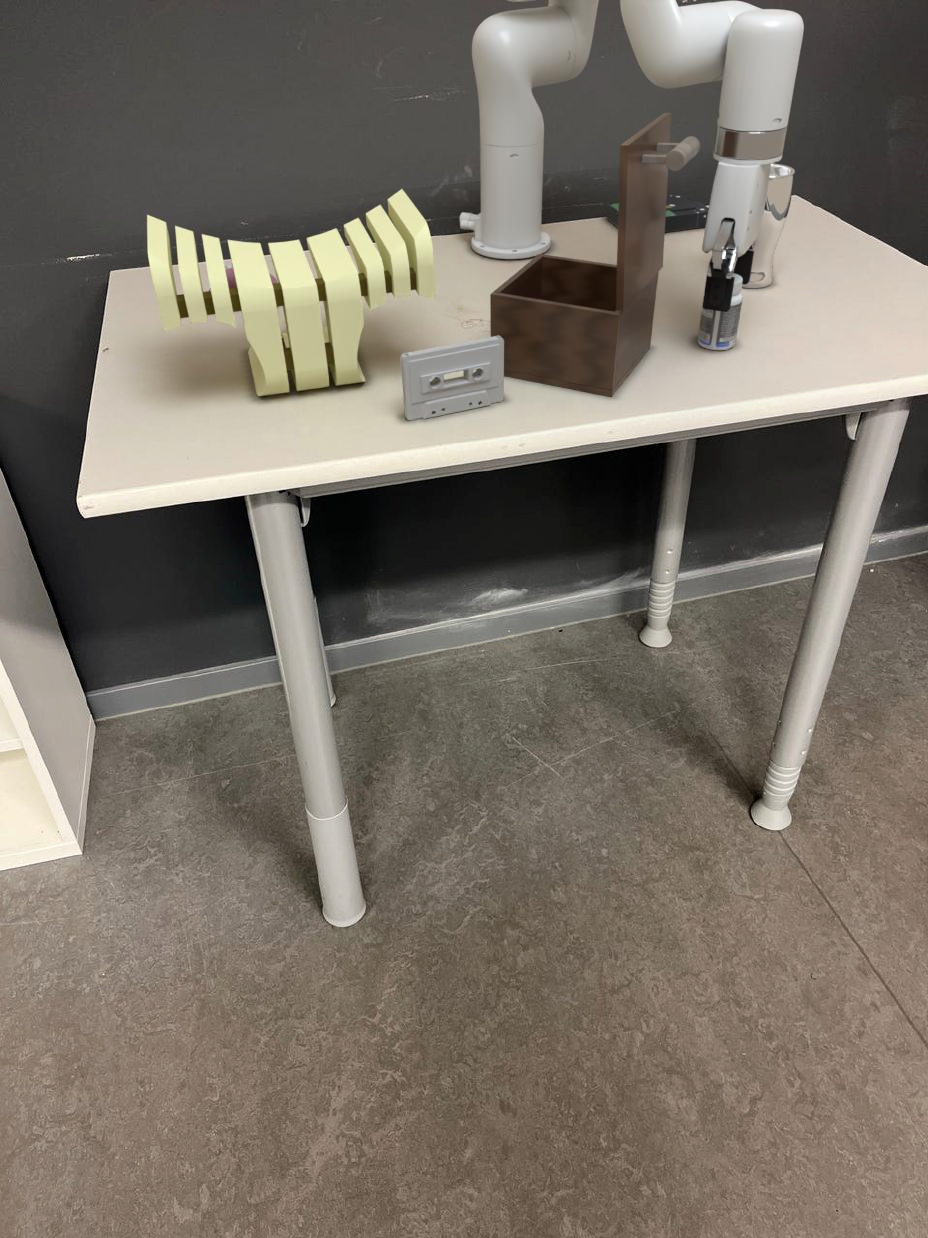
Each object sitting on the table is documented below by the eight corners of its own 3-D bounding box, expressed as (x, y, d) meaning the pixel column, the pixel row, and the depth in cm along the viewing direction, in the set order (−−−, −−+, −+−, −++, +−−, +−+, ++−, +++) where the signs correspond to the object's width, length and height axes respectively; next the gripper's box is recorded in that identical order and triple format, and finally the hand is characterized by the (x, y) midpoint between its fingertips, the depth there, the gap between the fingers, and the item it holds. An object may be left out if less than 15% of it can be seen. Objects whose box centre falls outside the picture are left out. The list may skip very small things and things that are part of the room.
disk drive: (682, 209, 160) (604, 218, 156) (685, 192, 158) (605, 201, 154) (712, 227, 152) (631, 237, 149) (715, 210, 150) (632, 219, 147)
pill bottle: (736, 338, 119) (748, 272, 113) (732, 353, 116) (744, 286, 110) (699, 333, 120) (709, 269, 115) (694, 348, 117) (704, 282, 111)
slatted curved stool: (185, 417, 106) (147, 260, 94) (181, 360, 118) (147, 214, 106) (439, 382, 111) (432, 229, 100) (410, 330, 123) (402, 188, 111)
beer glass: (770, 272, 136) (791, 162, 126) (778, 290, 131) (800, 176, 121) (722, 271, 137) (739, 162, 127) (728, 289, 131) (746, 176, 122)
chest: (490, 373, 113) (490, 293, 106) (536, 328, 123) (539, 253, 116) (611, 397, 107) (618, 314, 101) (650, 348, 117) (659, 270, 111)
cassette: (408, 423, 104) (403, 358, 99) (402, 415, 105) (398, 352, 100) (505, 402, 107) (506, 339, 102) (499, 395, 108) (499, 333, 103)
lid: (619, 144, 90) (673, 146, 88) (663, 112, 100) (712, 113, 98) (615, 310, 101) (663, 315, 99) (656, 266, 111) (700, 269, 109)
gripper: (734, 123, 110) (714, 269, 121) (694, 158, 98) (676, 316, 109) (798, 128, 107) (772, 276, 118) (766, 164, 95) (739, 325, 106)
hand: (726, 295), depth 113 cm, fingers open, 9 cm apart
